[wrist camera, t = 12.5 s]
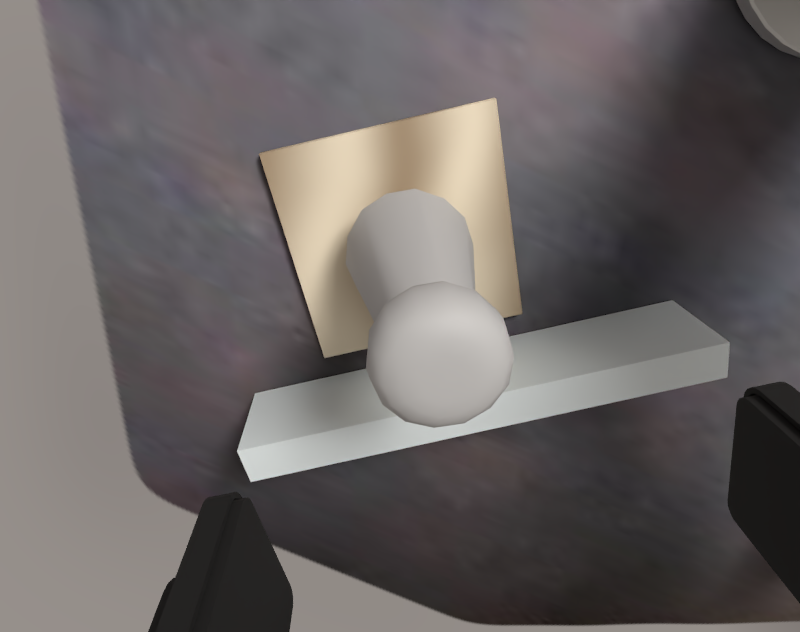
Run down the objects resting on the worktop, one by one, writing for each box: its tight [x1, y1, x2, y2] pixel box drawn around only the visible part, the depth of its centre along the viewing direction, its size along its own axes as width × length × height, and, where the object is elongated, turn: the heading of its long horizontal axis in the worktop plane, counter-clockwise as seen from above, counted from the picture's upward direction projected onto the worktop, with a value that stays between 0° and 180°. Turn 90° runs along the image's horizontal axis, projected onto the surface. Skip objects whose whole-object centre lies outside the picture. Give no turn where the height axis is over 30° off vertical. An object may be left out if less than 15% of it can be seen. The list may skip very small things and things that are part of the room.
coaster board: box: [259, 98, 522, 358], centre depth 26 cm, size 11×11×1 cm
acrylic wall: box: [237, 300, 730, 482], centre depth 28 cm, size 24×2×5 cm, turn 102°
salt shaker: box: [346, 189, 514, 428], centre depth 20 cm, size 6×6×13 cm
